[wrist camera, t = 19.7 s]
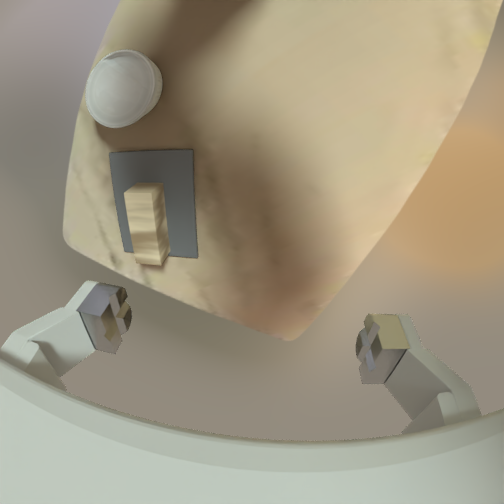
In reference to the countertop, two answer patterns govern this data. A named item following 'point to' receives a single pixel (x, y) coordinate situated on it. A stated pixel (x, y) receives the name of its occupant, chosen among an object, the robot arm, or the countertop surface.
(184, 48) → the countertop surface
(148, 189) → the maple block
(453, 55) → the countertop surface
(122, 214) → the rubber mat
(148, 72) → the ramekin
